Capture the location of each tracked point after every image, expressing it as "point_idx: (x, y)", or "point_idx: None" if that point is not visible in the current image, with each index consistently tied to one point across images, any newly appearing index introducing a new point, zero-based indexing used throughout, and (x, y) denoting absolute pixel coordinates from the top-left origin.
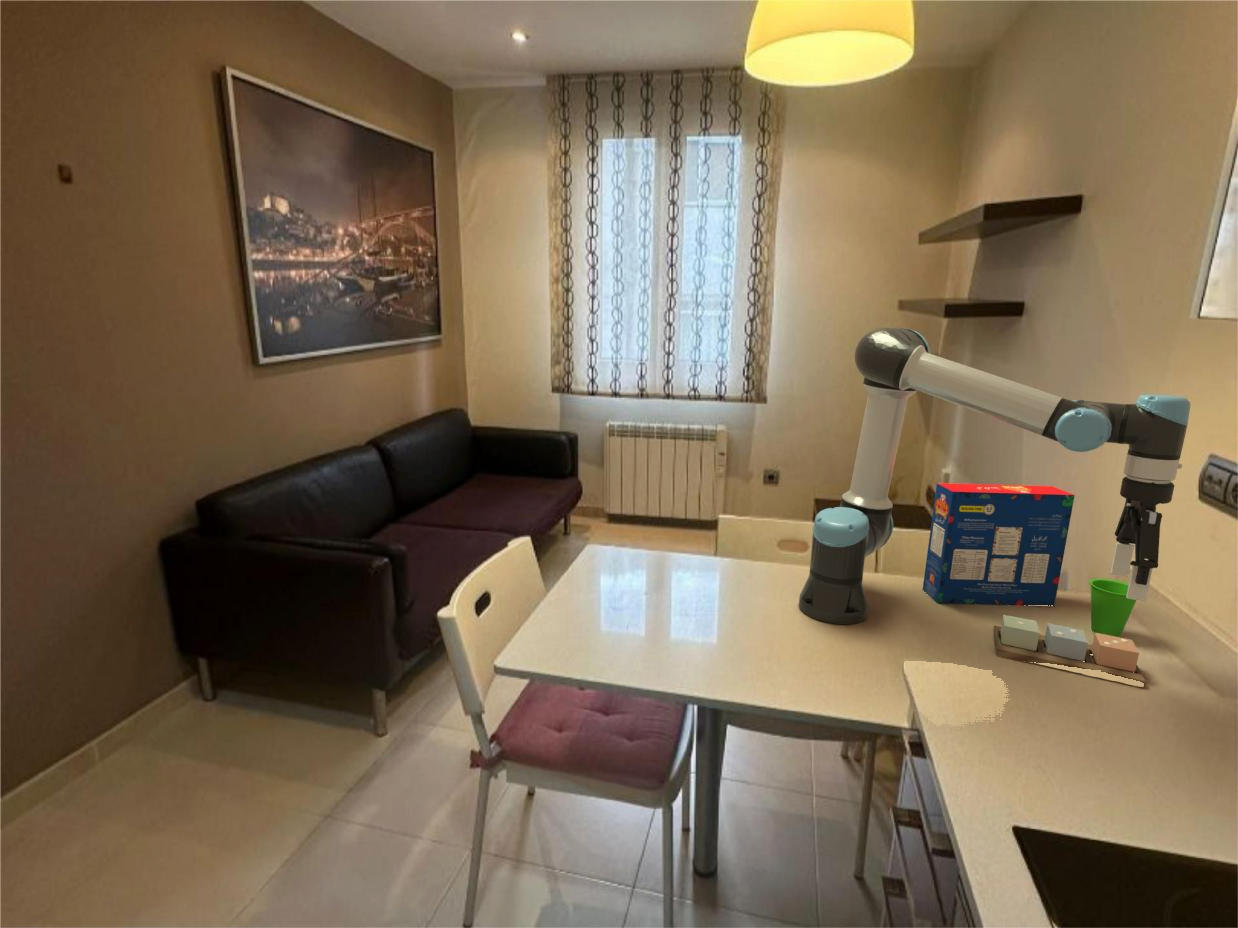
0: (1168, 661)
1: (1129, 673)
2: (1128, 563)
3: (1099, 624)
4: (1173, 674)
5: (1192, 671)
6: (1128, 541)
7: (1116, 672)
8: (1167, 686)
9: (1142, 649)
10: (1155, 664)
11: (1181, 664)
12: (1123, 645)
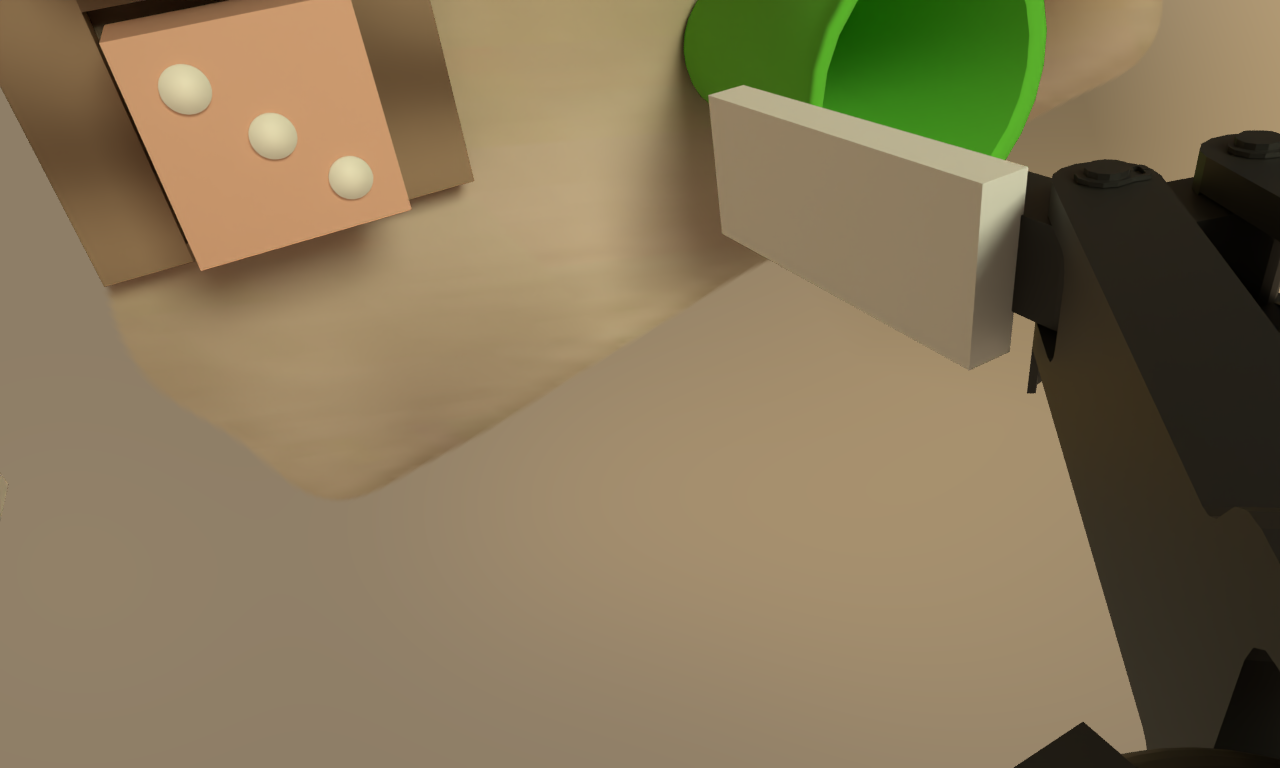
0: (576, 310)
1: (140, 206)
2: (804, 262)
3: (716, 10)
4: (437, 346)
5: (535, 393)
6: (1048, 313)
7: (74, 144)
8: (257, 348)
9: (641, 207)
10: (498, 273)
11: (581, 352)
12: (254, 179)
